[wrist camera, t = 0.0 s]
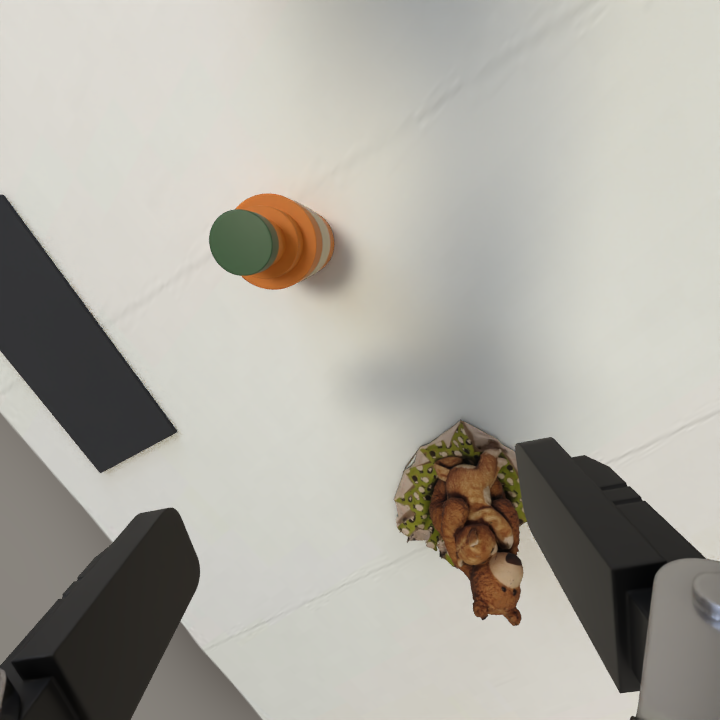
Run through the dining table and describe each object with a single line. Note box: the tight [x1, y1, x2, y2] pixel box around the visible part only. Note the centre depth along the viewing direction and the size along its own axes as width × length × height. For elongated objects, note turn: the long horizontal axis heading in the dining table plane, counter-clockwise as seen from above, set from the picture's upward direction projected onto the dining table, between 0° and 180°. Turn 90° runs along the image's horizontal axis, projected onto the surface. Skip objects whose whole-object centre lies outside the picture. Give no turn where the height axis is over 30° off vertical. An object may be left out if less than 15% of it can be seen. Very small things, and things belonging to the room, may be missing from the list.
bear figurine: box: [394, 420, 527, 626], centre depth 37 cm, size 14×15×12 cm
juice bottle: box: [209, 194, 334, 290], centre depth 27 cm, size 6×6×18 cm
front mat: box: [0, 195, 177, 473], centre depth 39 cm, size 26×10×1 cm, turn 29°
